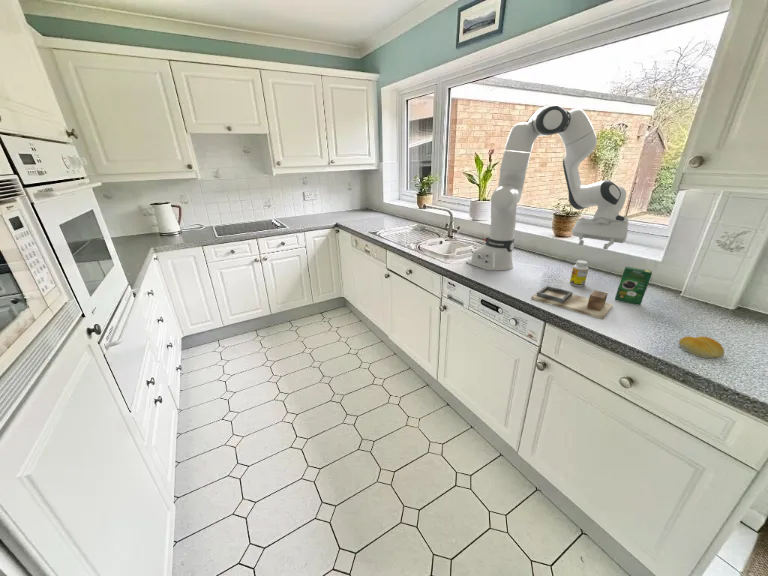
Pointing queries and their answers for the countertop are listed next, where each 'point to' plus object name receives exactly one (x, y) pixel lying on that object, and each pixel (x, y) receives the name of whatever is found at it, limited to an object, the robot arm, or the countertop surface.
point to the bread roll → (702, 347)
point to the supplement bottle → (579, 273)
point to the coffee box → (633, 285)
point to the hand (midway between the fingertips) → (592, 246)
